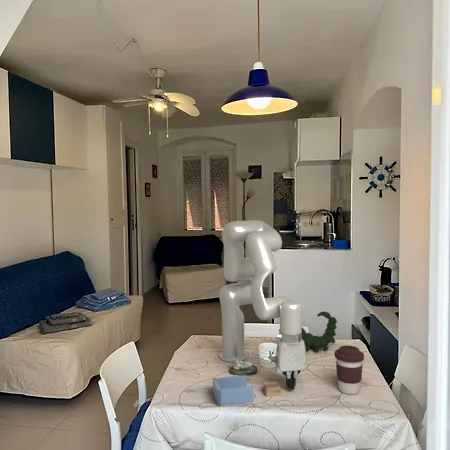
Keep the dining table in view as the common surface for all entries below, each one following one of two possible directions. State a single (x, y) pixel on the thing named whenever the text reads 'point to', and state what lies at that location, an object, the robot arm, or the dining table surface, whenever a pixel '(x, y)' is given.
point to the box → (232, 390)
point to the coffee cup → (349, 369)
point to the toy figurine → (321, 341)
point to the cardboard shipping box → (271, 389)
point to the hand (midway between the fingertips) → (290, 387)
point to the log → (243, 368)
